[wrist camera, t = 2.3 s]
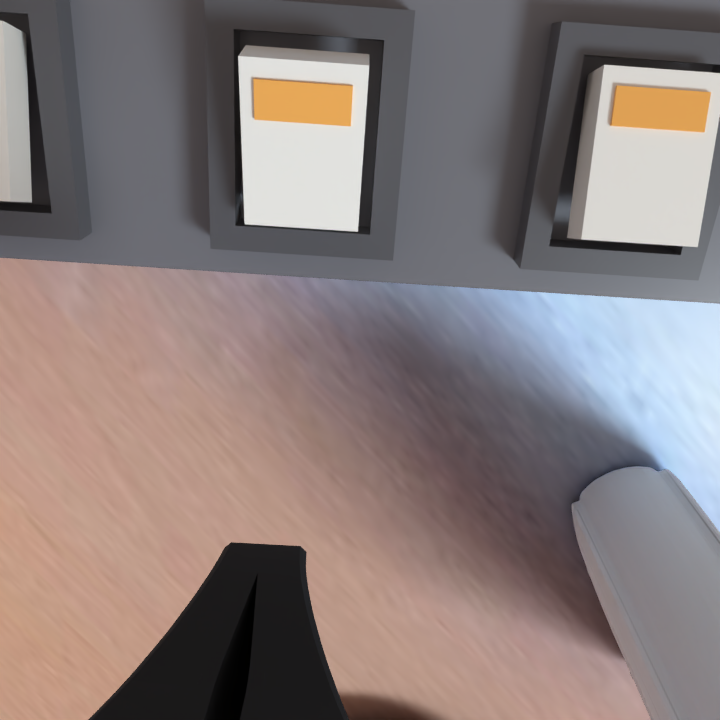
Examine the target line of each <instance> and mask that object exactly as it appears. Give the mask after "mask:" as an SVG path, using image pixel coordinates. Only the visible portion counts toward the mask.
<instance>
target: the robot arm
mask: <svg viewBox="0 0 720 720" xmlns="http://www.w3.org/2000/svg"><path fill="white" fill-rule="evenodd" d="M89 720H349V718H348V716H347V714H346V711H345V709H344V706H343V704H342V701H341V699H340V696H339V694H338V691H337V689H336V686H335V683H334V680H333V677H332V675H331V672H330V669H329V666H328V663H327V660H326V657H325V654H324V651H323V648H322V644H321V641H320V637H319V634H318V630H317V626H316V623H315V619H314V615H313V611H312V606H311V601H310V596H309V591H308V584H307V577H306V551H305V550H304V549H303V548H302V547H301V546H286V545H268V544H249V543H230V544H229V545H228V546H226V547H225V548H224V550H223V552H222V554H221V556H220V557H219V559H218V561H217V562H216V564H215V566H214V567H213V569H212V570H211V572H210V573H209V575H208V577H207V578H206V580H205V581H204V583H203V584H202V585H201V587H200V588H199V590H198V591H197V593H196V594H195V596H194V597H193V598H192V600H191V601H190V603H189V604H188V605H187V607H186V608H185V609H184V611H183V612H182V613H181V615H180V616H179V617H178V619H177V620H176V621H175V623H174V624H173V625H172V627H171V628H170V629H169V630H168V632H167V633H166V634H165V636H164V637H163V638H162V639H161V640H160V642H159V643H158V644H157V645H156V646H155V648H154V649H153V650H152V651H151V652H150V653H149V655H148V656H147V657H146V658H145V659H144V661H143V662H142V663H141V664H140V665H139V667H138V668H137V669H136V670H135V671H134V672H133V673H132V675H131V676H130V677H129V678H128V679H127V680H126V681H125V682H124V683H123V684H122V686H121V687H120V688H119V689H118V690H117V691H116V692H115V693H114V694H113V695H112V696H111V697H110V698H109V699H108V700H107V701H106V702H105V703H104V704H103V705H102V706H101V707H100V709H99V710H98V711H97V712H96V713H95V714H94V715H93V716H92V717H91V718H90V719H89Z"/></svg>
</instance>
